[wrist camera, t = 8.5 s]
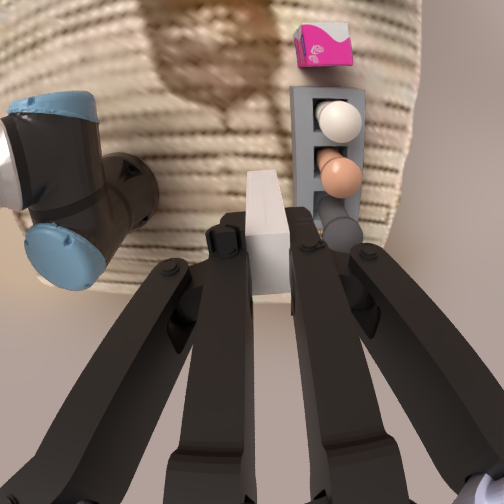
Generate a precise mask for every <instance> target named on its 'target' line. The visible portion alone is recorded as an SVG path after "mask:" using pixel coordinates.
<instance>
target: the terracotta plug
mask: <svg viewBox="0 0 504 504" xmlns="http://www.w3.org/2000/svg"><path fill="white" fill-rule="evenodd" d="M315 163H316V165H317V167H318V168H319V170H320V172H321V173H320V179H321V183H322V185H323V187H324V189H325V191H326V192H327V193H328V194H329V195H331V196H333V197H336V198H346V197H349V196H351V195H353V194H354V193H355V192H356V191H357V190H358V189H359V187H360V185H361V182H362V173H361V170H360V169H359V167H358V166H357V165H356V164H355V162H354V161H352V160H351V159H349V158H347V157H343V156H342V155H341V154H340V152H339V151H338V150H337V149H336V148H334V147H333V146H322V147H321V148H319V149H318V150H317V152H316V153H315Z"/></svg>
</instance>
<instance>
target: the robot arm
mask: <svg viewBox="0 0 504 504" xmlns="http://www.w3.org/2000/svg"><path fill="white" fill-rule="evenodd" d="M7 112H8V116H6V117H3V118H1V119H0V208H2V207H6V208H9V209H12V210H14V211H16V212H20V211H22V210H24V209H26V208H28V209H29V212H30V216H31V219H32V222H33V226H31V227H30V228H29V229H28V232H27V234H26V239H25V241H24V246H25V251H26V254H27V257H28V259H29V261H30V262H31V264H32V265H33V267H34V268H35V269H36V270H37V272H38V273H39V274H40V275H41V276H43V277H44V278H45V279H47V280H48V281H49V282H51V283H52V284H54V285H56V286H58V287H60V288H63V289H66V290H71V291H81V290H85V289H87V288H89V287H91V286H92V285H93V284H94V283H95V282H96V280H97V279H98V278H99V276H100V275H101V274H102V273H104V271H105V270H106V267H107V265H108V264H109V262H110V260H111V259H112V257H113V256H114V254H115V252H116V251H117V249H118V248H119V246H120V245H121V243H122V241H123V240H124V238H125V237H126V235H127V234H129V233H131V232H133V231H135V230H137V229H139V228H141V227H142V226H143V225H145V224H146V223H147V222H148V220H149V219H150V218H151V216H152V215H153V213H154V211H155V210H156V207H157V204H158V198H159V192H158V186H157V182H156V179H155V177H154V175H153V173H152V172H151V170H150V169H149V168H148V167H147V165H146V164H145V163H143V162H142V161H141V160H140V159H138V158H136V157H135V156H132V155H130V154H126V153H111V154H107V155H105V156H103V157H102V151H101V143H100V134H99V124H100V121H99V120H98V118H97V110H96V102H95V98H94V96H93V95H92V94H91V93H89V92H87V91H63V92H55V93H48V94H42V95H38V96H36V97H34V96H33V97H29V98H24V99H20V100H17V101H14V102H12V103H11V104H10V105H9V109H8V111H7ZM205 235H206V240H207V245H208V250H209V258H208V259H207V260H205V261H203V262H201V263H198V264H194V265H191V266H188V263H187V261H185V260H184V259H181V258H170V259H166V260H164V261H162V262H160V263H158V264H157V265H156V266H155V267H154V269H153V270H152V271H151V273H150V274H149V275H148V277H147V278H146V279H145V281H144V282H143V283H142V285H141V286H140V288H139V289H138V290H137V292H136V293H135V294H134V296H133V297H132V299H131V300H130V302H129V303H128V304H127V306H126V307H125V309H124V310H123V312H122V313H121V314H120V316H119V317H118V319H117V320H116V322H115V323H114V325H113V326H112V327H111V329H110V330H109V332H108V333H107V335H106V336H105V338H104V339H103V341H102V342H101V344H100V345H99V347H98V348H97V350H96V352H95V353H94V354H93V356H92V358H91V359H90V361H89V362H88V364H87V366H86V367H85V369H84V370H83V372H82V373H81V375H80V377H79V378H78V380H77V381H76V383H75V385H74V386H73V388H72V390H71V391H70V393H69V395H68V396H67V398H66V400H65V402H64V403H63V405H62V407H61V408H60V410H59V412H58V413H57V415H56V417H55V419H54V421H53V422H52V424H51V426H50V428H49V430H48V431H47V433H46V435H45V437H44V439H43V441H42V443H41V445H40V447H39V449H38V450H37V452H36V454H35V456H34V457H33V458H32V459H30V460H29V461H28V462H27V463H26V464H25V465H24V466H23V467H22V468H21V469H20V470H19V471H18V472H17V473H16V474H15V475H14V476H12V477H11V478H10V479H9V480H8V481H7V482H6V483H5V484H4V485H3V486H2V487H1V488H0V504H120V503H121V502H122V500H123V498H124V496H125V494H126V492H127V490H128V488H129V486H130V484H131V481H132V479H133V477H134V474H135V472H136V470H137V468H138V465H139V463H140V461H141V458H142V456H143V454H144V451H145V449H146V447H147V445H148V442H149V440H150V438H151V435H152V433H153V431H154V429H155V427H156V424H157V422H158V420H159V417H160V415H161V413H162V411H163V408H164V407H165V404H166V402H167V400H168V398H169V396H170V393H171V391H172V389H173V386H174V384H175V382H176V380H177V378H178V376H179V373H180V371H181V369H182V367H183V365H184V363H185V360H186V358H187V356H188V354H189V351H190V349H191V347H192V345H193V349H192V356H191V362H190V368H189V375H188V382H187V389H186V396H185V403H184V411H183V418H182V427H181V435H180V442H179V446H178V448H177V450H175V451H174V452H173V453H172V454H171V456H170V458H169V460H168V465H167V470H166V478H165V487H164V497H163V504H257V487H256V477H255V420H254V337H253V336H254V335H253V334H254V332H253V299H252V295H264V294H278V293H290V292H291V315H292V316H293V318H294V326H295V334H296V341H297V349H298V357H299V365H300V373H301V382H302V391H303V400H304V408H305V418H306V428H307V438H308V448H309V459H310V493H311V494H310V495H311V502H308V503H306V504H416V503H415V502H414V501H412V500H410V499H409V496H408V491H407V485H406V479H405V474H404V469H403V464H402V459H401V455H400V451H399V448H398V445H397V442H396V441H395V439H394V438H393V437H392V436H390V435H388V434H387V433H386V431H385V429H384V426H383V422H382V419H381V414H380V410H379V406H378V402H377V398H376V394H375V390H374V387H373V383H372V379H371V375H370V372H369V368H368V365H367V361H366V358H365V355H364V351H363V348H362V344H361V341H360V339H361V340H362V342H363V343H364V344H365V346H366V348H367V349H368V351H369V353H370V354H371V356H372V358H373V359H374V361H375V363H376V364H377V366H378V367H379V369H380V371H381V372H382V374H383V376H384V377H385V379H386V381H387V382H388V384H389V386H390V387H391V389H392V391H393V392H394V394H395V396H396V397H397V399H398V401H399V402H400V404H401V406H402V408H403V409H404V411H405V413H406V414H407V416H408V418H409V420H410V421H411V423H412V425H413V427H414V428H415V430H416V432H417V434H418V435H419V437H420V439H421V441H422V443H423V445H424V446H425V448H426V450H427V452H428V454H429V456H430V457H431V459H432V461H433V463H434V465H435V467H436V468H437V470H438V472H439V473H440V475H441V477H442V478H443V479H444V481H445V482H446V483H447V484H448V485H449V487H450V488H451V489H452V490H453V491H454V492H455V493H456V494H457V495H458V496H457V498H456V499H455V500H454V502H453V503H452V504H504V390H503V389H502V387H501V386H500V384H499V383H498V381H497V380H496V379H495V377H494V376H493V374H492V373H491V372H490V370H489V369H488V368H487V366H486V365H485V364H484V362H483V361H482V360H481V358H480V357H479V356H478V355H477V353H476V352H475V351H474V349H473V348H472V347H471V346H470V345H469V343H468V342H467V341H466V339H465V338H464V337H463V336H462V335H461V333H460V332H459V331H458V330H457V328H455V326H454V325H453V324H452V322H451V321H450V320H449V319H448V318H447V317H446V315H445V314H444V313H443V312H442V311H441V310H440V309H439V308H438V306H437V305H436V304H435V303H434V302H433V301H432V300H431V299H430V298H429V296H428V295H427V294H426V293H425V292H424V291H423V290H422V289H421V288H420V286H418V284H417V283H416V282H415V281H414V280H413V279H412V278H411V277H410V276H409V275H408V274H407V273H406V272H405V271H404V270H403V269H402V268H401V267H400V266H399V264H398V263H397V262H396V261H395V260H394V259H393V258H391V256H390V255H389V254H388V253H387V252H386V251H385V250H383V249H382V248H381V247H379V246H377V245H375V244H372V243H359V244H356V245H354V246H353V247H352V248H351V250H350V253H344V252H338V251H334V250H331V249H329V247H328V245H327V243H326V242H325V241H324V240H322V239H320V236H319V234H318V231H317V228H316V226H315V223H314V220H313V218H312V215H311V212H310V211H309V210H308V209H306V208H305V207H304V206H303V207H287V208H284V204H283V200H282V196H281V191H280V187H279V183H278V178H277V174H276V170H275V169H274V170H260V171H248V172H247V195H246V211H245V212H233V213H226V214H225V215H224V216H223V217H222V218H221V220H220V224H218V225H215V226H213V227H211V228H210V229H208V230H207V232H206V234H205ZM359 337H360V338H359Z"/></svg>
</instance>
